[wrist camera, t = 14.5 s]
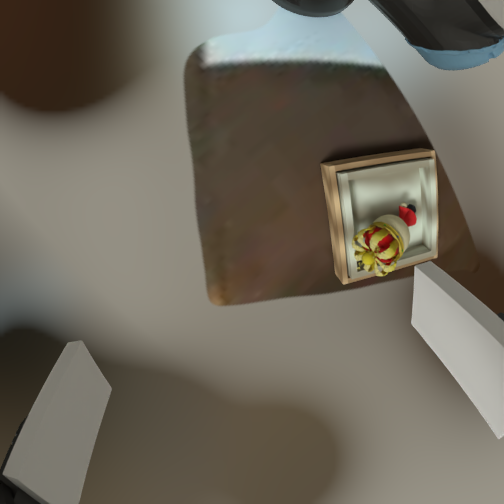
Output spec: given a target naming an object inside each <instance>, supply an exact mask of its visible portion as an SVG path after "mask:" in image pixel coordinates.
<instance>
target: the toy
mask: <svg viewBox="0 0 504 504" xmlns="http://www.w3.org/2000/svg"><path fill="white" fill-rule="evenodd" d="M415 212H416V208H415V206H414V205H412V204H409V205H407V204H406V203H404V202H403V203H401V205H400V206H399V216H395V215H383V216H380V217H379V218H377V219H376V220H375V221H374V222H373V223H372V224H371V225H370V226H369V227H368V228H367V229H362V230H360V231H359V232H358V234H357V235H355V236H354V237H353V239H352V248H354V249H355V250H356V251H355V253H354V257H355V259H356V260H357V261H360V260H362V264H363V263H364V264H365V265H364V269H365V270H366V271H367V272H372V271H373V270H374V273H376V276H385V275H386V274H388V272H391V271H392V270H394V269H395V267H396V264H397V260H398V259H399V258H400V257H401V256H402V255H403V252H404V251H405V250H406V249H407V247H408V245H409V242H410V232H409V228H408V227H410V226H413V225H415V224H416V221H417V218H416V215H415ZM365 231H366V232H365ZM363 238H365V243H364V242H363ZM357 240H358V242H359V243H361V245H362V247H359V246H357V245H356V244H355V242H354V241H357ZM381 262H383V263H385V265H384V264H383V263H381ZM393 262H394V264H392V265H391V263H393ZM378 263H379V265H380V266H381V267H382V271H381V273H380V271H379V270H378V267H377V264H378ZM362 264H361V265H362ZM358 268H359V269H360V263H359V267H357V269H358Z"/></svg>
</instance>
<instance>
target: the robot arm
mask: <svg viewBox="0 0 504 504" xmlns="http://www.w3.org/2000/svg"><path fill="white" fill-rule="evenodd" d="M272 1H274V2H275V3H276V4H278V5H279V6H281V7H282V8H284V9H286V10H288V11H291V12H293V13H296V14H299V15H303V16H309V17H326V16H331V15H335V14H337V13H339V12H341V11H343V10H344V9H345V8H347V7H348V6H349V5H350V4H351V3H352V2H353V1H354V0H272ZM369 1H370V2H371V3H372V4H373V5H374V6H375V7H376V8H377V9H378V10H379V11H380V12H381V13H382V14H383V15H384V16H385V17H386V18H387V19H388V20H389V21H390V22H391V23H392V24H393V25H394V26H395V27H396V28H397V29H398V30H399V31H400V32H401V33H402V34H403V36H404V37H405V40H406V41H407V42H408V44H409V45H411V46H412V47H414V48H415V49H416V50H417V51H418V52H419V53H420V54H421V56H422V57H423V58H424V59H425V60H426V61H427V62H428V63H429V64H431V65H433V66H435V67H437V68H439V69H443V70H463V69H468V68H472V67H476V66H480V65H482V64H485V63H487V62H489V59H490V58H496V57H497V56H499V55H500V54H501V53H502V52H503V51H504V0H369ZM411 324H412V325H413V326H414V328H415V329H416V330H417V331H418V332H419V334H420V335H421V336H422V337H423V338H424V340H425V341H426V342H427V343H428V345H429V346H430V347H431V348H432V350H433V351H434V352H435V353H436V355H437V356H438V357H439V358H440V360H441V361H442V362H443V364H444V365H445V366H446V367H447V369H448V370H449V371H450V372H451V374H452V375H453V376H454V378H455V379H456V380H457V382H458V383H459V384H460V386H461V387H462V388H463V390H464V391H465V392H466V394H467V395H468V396H469V398H470V399H471V401H472V402H473V403H474V405H475V406H476V408H477V409H478V410H479V412H480V413H481V415H482V416H483V417H484V419H485V420H486V422H487V423H488V425H489V426H490V428H491V429H492V430H493V432H494V433H495V435H496V436H497V438H498V439H499V438H501V437H502V436H504V314H503V313H499V314H497V315H496V314H495V313H493V312H492V311H491V310H490V309H489V308H488V307H487V306H485V305H484V304H483V303H482V302H481V301H480V300H478V299H477V298H476V297H475V296H474V295H473V294H471V293H470V292H469V291H468V290H466V289H465V288H464V287H463V286H462V285H460V284H459V283H458V282H457V281H455V280H454V279H453V278H452V277H450V276H449V275H448V274H447V273H445V272H444V271H443V270H441V269H440V268H439V267H437V266H436V265H435V264H434V263H432V262H431V261H429V262H426V263H423V264H420V265H416V266H415V276H414V296H413V310H412V322H411ZM111 390H112V388H111V387H110V385H109V384H108V382H107V381H106V379H105V378H104V376H103V375H102V373H101V371H100V370H99V368H98V367H97V365H96V363H95V362H94V360H93V359H92V357H91V355H90V354H89V352H88V350H87V348H86V347H85V345H84V343H83V342H82V341H76V342H69V343H68V344H67V345H66V347H65V349H64V350H63V352H62V354H61V356H60V357H59V359H58V361H57V362H56V364H55V366H54V368H53V369H52V372H51V373H50V375H49V377H48V379H47V380H46V382H45V384H44V386H43V388H42V390H41V391H40V394H39V396H38V397H37V399H36V401H35V403H34V405H33V407H32V409H31V411H30V413H29V415H28V416H27V417H26V418H25V419H24V420H23V422H22V423H21V424H20V426H19V428H18V430H17V432H16V436H15V437H14V439H13V441H12V445H11V446H10V448H9V450H8V452H7V454H6V457H5V459H4V462H3V464H2V466H1V469H0V504H79V501H80V496H81V492H82V488H83V484H84V480H85V476H86V472H87V469H88V465H89V461H90V458H91V454H92V450H93V447H94V443H95V440H96V437H97V434H98V430H99V427H100V424H101V420H102V417H103V414H104V411H105V408H106V405H107V402H108V398H109V396H110V393H111Z"/></svg>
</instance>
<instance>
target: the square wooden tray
mask: <svg viewBox="0 0 504 504" xmlns="http://www.w3.org/2000/svg"><path fill="white" fill-rule="evenodd" d="M320 165H321V171H322V177H323V184H324V190H325V197H326V203H327V210H328V217H329V225H330V232H331V240H332V249H333V257H334V266H335V274H336V275H337V276H338V278H339V279H340V281H341V282H342V283H343V284H347V283H351V282H355V281H358V280H362V279H365V278H369V277H373V276H376V273H374V270H373V271H372V272H367V271H366V270H365V269H364V265H365V264H364V263H363V264H362V260H360V261H357V260H356V259H355V257H354V253H355V251H356V250H355V249H354V248H352V239H353V237H354V236H355V235H357V234H358V232H359V231H360V230H362V229H367V228H368V227H369V226H370V225H371V224H372V223H373V222H374V221H375V220H376V219H377V218H379V217H380V216H383V215H395V216H399V206H400V205H401V203H403V202H404V203H406V204H407V205H409V204H412V205H414V206H415V208H416V212H415V215H416V218H417V221H416V224H415V225H413V226H410V227H408V228H409V232H410V242H409V245H408V247H407V249H406V250H405V251H404V252H403V255H402V256H401V257H400V258H399V259H398V260H397V264H396V267H395V269H394V270H397V269H400V268H404V267H407V266H410V265H414V264H417V263H420V262H424V261H427V260H430V259H433V258H436V257H437V252H438V188H437V170H436V157H435V151H434V150H428V149H423V148H418V149H410V150H402V151H395V152H388V153H381V154H374V155H367V156H361V157H355V158H348V159H342V160H337V161H331V162H325V163H320ZM365 232H366V231H365ZM354 242H355V244H356V245H357V246H359V247H362V245H361V243H359V242H358V240H357V241H354ZM363 242H364V243H365V238H363ZM359 263H360V269H359V268H358V269H357V267H359ZM381 263H383V262H381ZM361 264H362V265H361ZM383 264H384V265H385V263H383ZM392 264H394V262H393V263H391V265H392ZM377 267H378V270H379V271H380V273H381V271H382V267H381V266H380V265H379V263H378V264H377ZM394 270H392V271H394Z"/></svg>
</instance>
